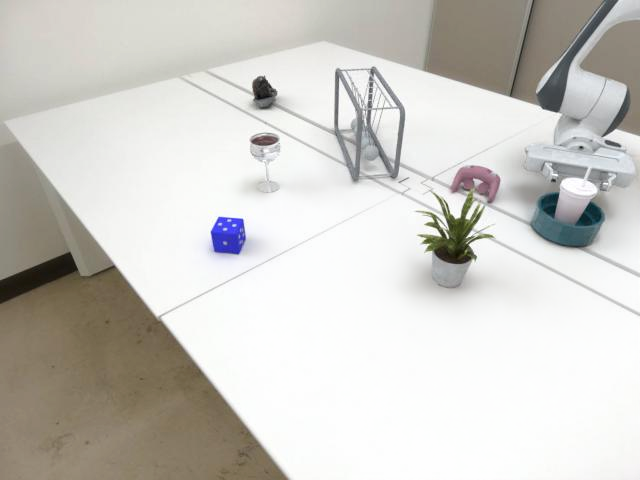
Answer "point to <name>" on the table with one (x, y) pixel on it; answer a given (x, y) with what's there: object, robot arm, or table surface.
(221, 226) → the die
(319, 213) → the table surface
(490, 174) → the video game controller
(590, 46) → the robot arm
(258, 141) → the wineglass
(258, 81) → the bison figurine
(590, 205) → the bowl
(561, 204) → the smoothie
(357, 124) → the newton's cradle
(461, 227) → the house plant
